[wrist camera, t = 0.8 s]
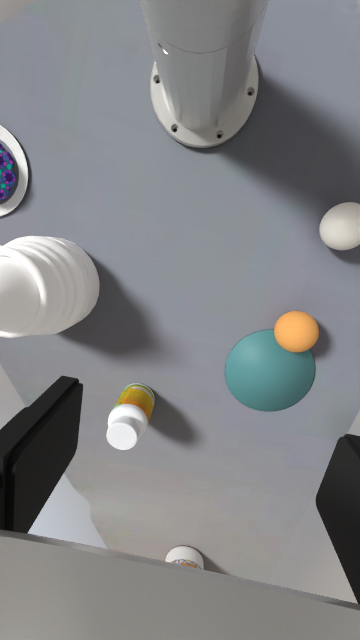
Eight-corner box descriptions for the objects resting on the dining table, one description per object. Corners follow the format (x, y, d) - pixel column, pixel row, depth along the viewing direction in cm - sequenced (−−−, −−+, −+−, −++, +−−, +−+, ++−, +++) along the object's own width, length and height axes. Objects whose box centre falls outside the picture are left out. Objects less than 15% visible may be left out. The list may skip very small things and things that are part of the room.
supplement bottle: (127, 377, 45) (107, 411, 35) (159, 389, 45) (148, 427, 36) (117, 405, 46) (95, 446, 37) (148, 417, 46) (135, 461, 37)
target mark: (212, 346, 43) (212, 347, 42) (300, 317, 40) (300, 317, 40) (241, 420, 45) (241, 421, 45) (324, 396, 43) (325, 396, 43)
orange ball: (265, 315, 41) (274, 325, 36) (303, 301, 40) (319, 309, 35) (276, 349, 42) (287, 364, 37) (314, 337, 41) (331, 350, 36)
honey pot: (64, 218, 40) (-44, 196, 22) (117, 297, 42) (56, 333, 25) (-4, 268, 42) (-148, 283, 25) (50, 340, 44) (-49, 400, 27)
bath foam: (199, 542, 52) (198, 718, 33) (206, 571, 53) (208, 756, 34) (162, 545, 53) (139, 718, 33) (170, 574, 54) (152, 755, 35)
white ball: (307, 215, 37) (324, 210, 32) (351, 198, 36) (376, 190, 31) (319, 256, 38) (337, 257, 33) (361, 240, 37) (387, 239, 32)
